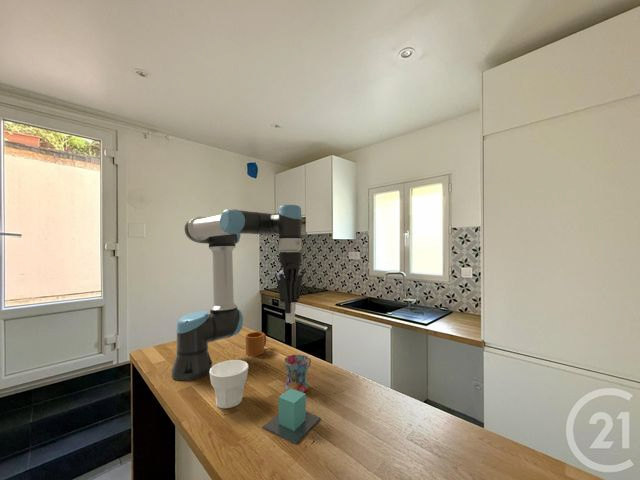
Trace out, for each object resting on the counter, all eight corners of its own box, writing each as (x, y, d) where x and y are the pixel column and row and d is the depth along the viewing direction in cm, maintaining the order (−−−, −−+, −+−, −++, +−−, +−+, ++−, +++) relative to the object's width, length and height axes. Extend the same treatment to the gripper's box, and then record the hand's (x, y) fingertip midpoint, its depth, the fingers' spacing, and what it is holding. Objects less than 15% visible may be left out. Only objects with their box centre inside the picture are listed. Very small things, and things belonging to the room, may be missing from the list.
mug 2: (296, 399, 90) (296, 367, 90) (278, 390, 96) (278, 360, 96) (319, 385, 99) (319, 356, 99) (301, 377, 105) (301, 350, 105)
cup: (210, 417, 81) (211, 380, 81) (207, 396, 92) (207, 364, 92) (252, 405, 86) (252, 371, 87) (244, 387, 97) (244, 357, 98)
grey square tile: (262, 428, 76) (262, 404, 76) (288, 406, 86) (288, 386, 86) (296, 444, 69) (296, 419, 69) (320, 419, 79) (320, 397, 80)
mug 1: (273, 351, 132) (273, 332, 132) (252, 358, 123) (252, 339, 123) (262, 346, 138) (262, 328, 138) (241, 353, 129) (241, 334, 129)
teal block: (278, 423, 77) (278, 397, 77) (290, 413, 81) (290, 388, 81) (294, 431, 74) (294, 403, 74) (305, 419, 78) (305, 393, 79)
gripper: (286, 251, 82) (286, 329, 81) (310, 251, 93) (310, 319, 92) (268, 251, 86) (268, 325, 85) (293, 251, 97) (293, 316, 96)
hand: (290, 322), depth 89 cm, fingers closed
